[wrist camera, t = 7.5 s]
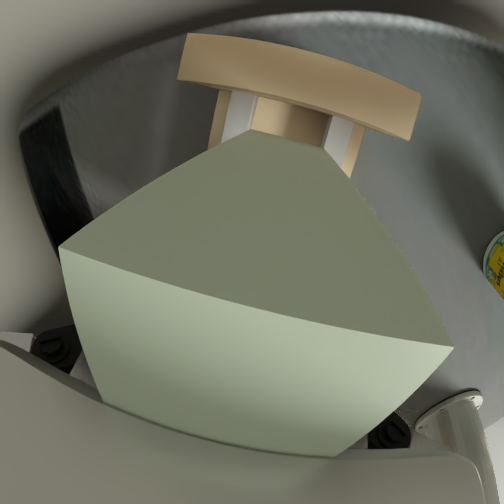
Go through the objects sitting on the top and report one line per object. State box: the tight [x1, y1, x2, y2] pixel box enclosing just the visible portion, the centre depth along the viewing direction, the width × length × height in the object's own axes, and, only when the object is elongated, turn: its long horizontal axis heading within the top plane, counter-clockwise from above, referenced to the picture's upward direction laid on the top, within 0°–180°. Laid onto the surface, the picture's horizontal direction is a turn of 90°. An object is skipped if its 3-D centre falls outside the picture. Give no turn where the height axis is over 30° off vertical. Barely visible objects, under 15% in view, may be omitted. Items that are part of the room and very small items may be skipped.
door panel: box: [58, 129, 454, 457], centre depth 8 cm, size 10×3×10 cm, turn 168°
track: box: [177, 33, 422, 179], centre depth 15 cm, size 17×9×8 cm, turn 168°
